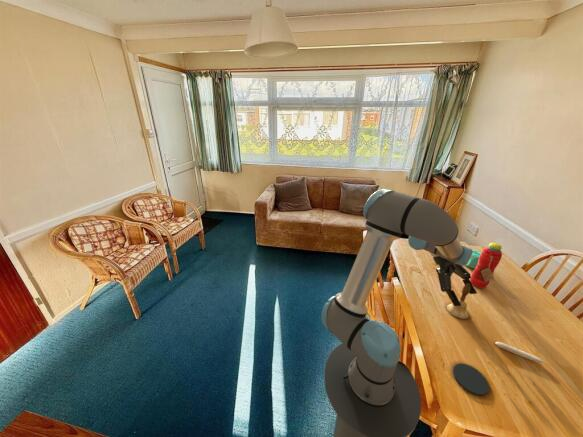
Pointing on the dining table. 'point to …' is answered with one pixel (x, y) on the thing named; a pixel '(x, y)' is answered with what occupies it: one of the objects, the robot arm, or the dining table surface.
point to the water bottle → (486, 265)
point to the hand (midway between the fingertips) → (465, 299)
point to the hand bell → (461, 310)
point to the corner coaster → (470, 379)
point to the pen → (519, 352)
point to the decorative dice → (473, 259)
